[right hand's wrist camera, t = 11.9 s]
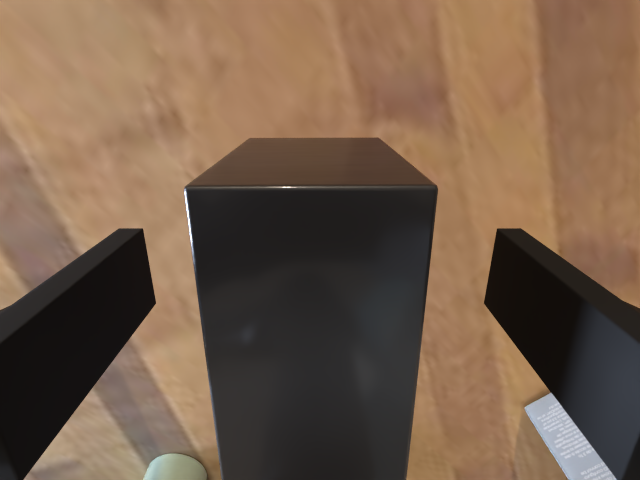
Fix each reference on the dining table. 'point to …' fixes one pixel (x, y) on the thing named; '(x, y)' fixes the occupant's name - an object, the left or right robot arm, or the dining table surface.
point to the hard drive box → (566, 441)
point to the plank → (312, 305)
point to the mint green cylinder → (175, 468)
